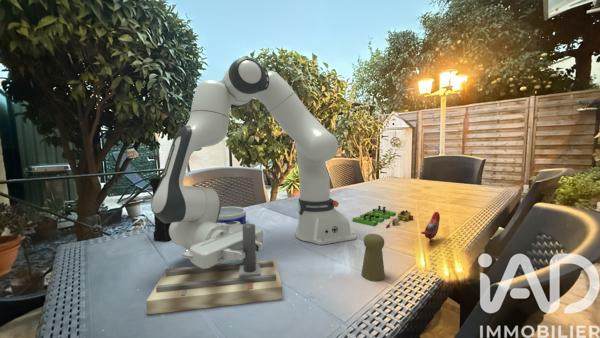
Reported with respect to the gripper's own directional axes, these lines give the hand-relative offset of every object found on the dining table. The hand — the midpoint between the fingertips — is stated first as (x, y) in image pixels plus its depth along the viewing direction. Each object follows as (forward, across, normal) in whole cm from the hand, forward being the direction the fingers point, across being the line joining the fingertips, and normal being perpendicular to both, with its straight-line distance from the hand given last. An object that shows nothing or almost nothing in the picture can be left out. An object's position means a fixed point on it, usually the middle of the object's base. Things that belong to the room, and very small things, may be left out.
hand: (252, 251), depth 65 cm
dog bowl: (-44, +31, +10) cm, 54 cm away
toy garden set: (+11, +73, +10) cm, 75 cm away
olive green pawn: (+23, +22, +9) cm, 33 cm away
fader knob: (-1, 0, +6) cm, 6 cm away
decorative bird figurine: (+32, +54, +9) cm, 63 cm away
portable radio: (-50, +7, +9) cm, 51 cm away
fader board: (-6, -5, +9) cm, 12 cm away
